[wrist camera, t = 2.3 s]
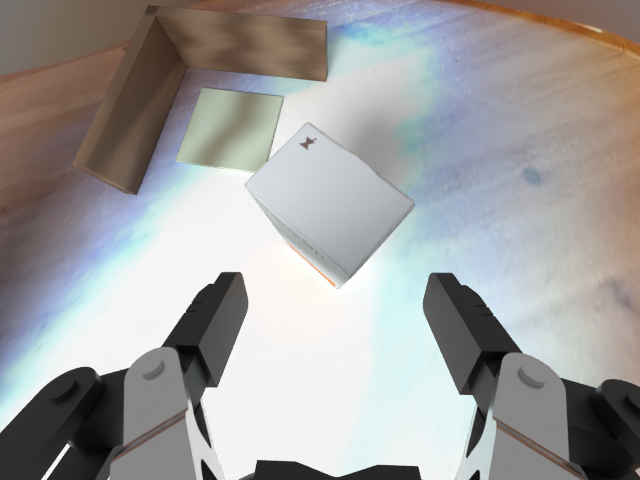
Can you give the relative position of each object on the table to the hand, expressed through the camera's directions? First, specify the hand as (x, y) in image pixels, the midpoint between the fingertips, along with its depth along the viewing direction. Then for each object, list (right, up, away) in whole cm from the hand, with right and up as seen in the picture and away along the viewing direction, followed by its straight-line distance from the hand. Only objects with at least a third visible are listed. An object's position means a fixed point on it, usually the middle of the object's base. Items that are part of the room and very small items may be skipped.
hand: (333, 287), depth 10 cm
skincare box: (0, +1, +11) cm, 11 cm away
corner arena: (-10, +14, +14) cm, 22 cm away
